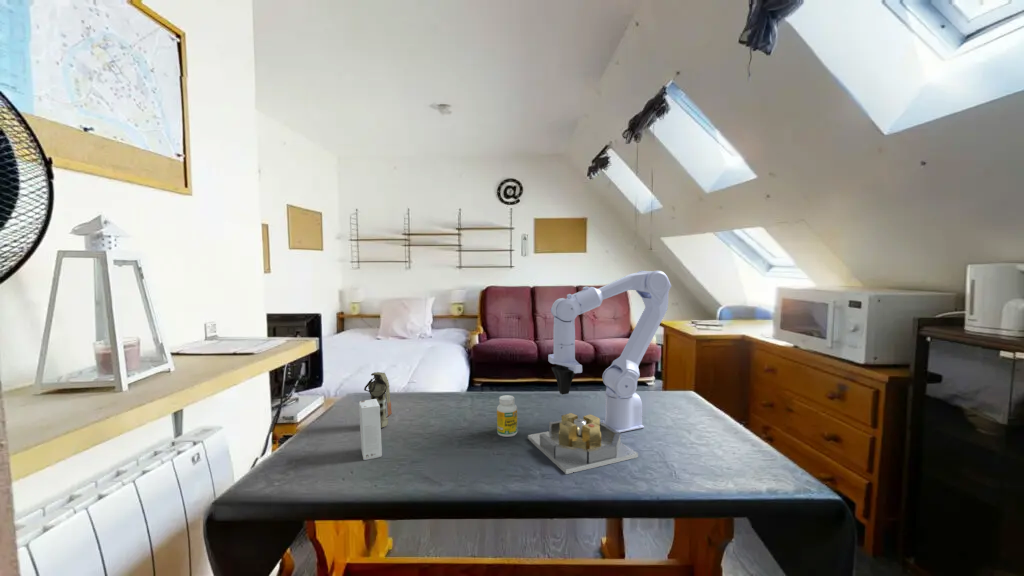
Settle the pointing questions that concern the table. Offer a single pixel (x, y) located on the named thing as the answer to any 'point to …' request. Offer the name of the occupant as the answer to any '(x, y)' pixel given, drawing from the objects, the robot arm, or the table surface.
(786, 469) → the table surface
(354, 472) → the table surface
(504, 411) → the supplement bottle
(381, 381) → the grenade model
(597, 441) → the gold block ring
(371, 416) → the skincare box
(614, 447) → the flange plate
